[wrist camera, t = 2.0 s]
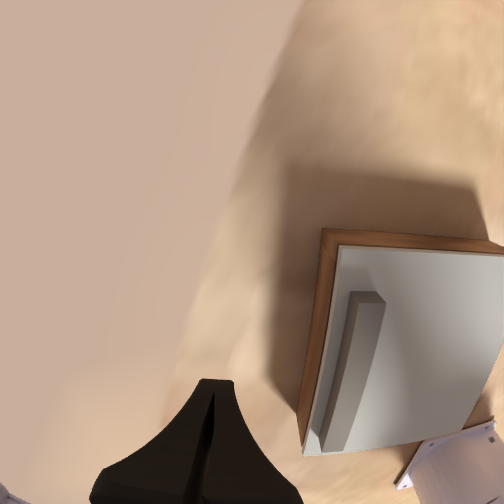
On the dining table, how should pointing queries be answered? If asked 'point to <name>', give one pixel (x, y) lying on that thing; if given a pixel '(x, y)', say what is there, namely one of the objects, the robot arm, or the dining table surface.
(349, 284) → the lid
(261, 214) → the dining table surface
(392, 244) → the box
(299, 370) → the dining table surface
